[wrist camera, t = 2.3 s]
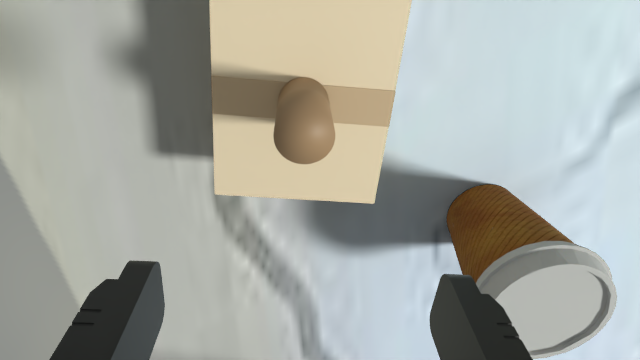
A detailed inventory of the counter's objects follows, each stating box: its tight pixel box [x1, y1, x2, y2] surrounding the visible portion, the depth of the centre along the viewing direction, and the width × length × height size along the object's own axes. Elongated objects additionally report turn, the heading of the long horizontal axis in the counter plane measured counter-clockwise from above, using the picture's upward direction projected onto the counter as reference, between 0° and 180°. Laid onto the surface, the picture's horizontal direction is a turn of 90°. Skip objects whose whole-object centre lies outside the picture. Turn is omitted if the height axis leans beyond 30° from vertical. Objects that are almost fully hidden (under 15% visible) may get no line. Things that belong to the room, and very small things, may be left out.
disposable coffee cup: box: [447, 184, 617, 359], centre depth 33 cm, size 10×10×12 cm
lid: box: [209, 0, 412, 204], centre depth 25 cm, size 11×14×7 cm
